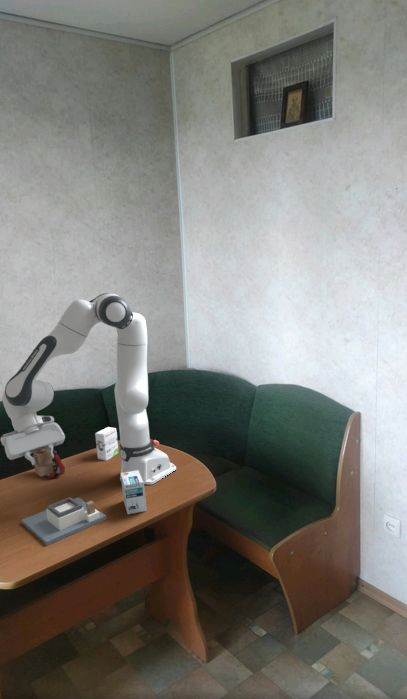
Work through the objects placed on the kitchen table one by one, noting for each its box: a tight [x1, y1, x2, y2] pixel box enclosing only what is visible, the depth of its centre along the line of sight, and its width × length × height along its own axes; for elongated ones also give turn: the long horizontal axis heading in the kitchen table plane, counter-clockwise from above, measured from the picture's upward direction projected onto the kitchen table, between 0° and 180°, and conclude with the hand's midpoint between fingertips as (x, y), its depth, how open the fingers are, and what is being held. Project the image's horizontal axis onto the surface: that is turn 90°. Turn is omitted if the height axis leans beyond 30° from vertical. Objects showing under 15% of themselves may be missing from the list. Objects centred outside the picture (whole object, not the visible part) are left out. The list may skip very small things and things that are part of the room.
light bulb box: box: [120, 470, 148, 515], centre depth 182 cm, size 11×7×11 cm, turn 17°
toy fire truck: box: [45, 449, 66, 479], centre depth 212 cm, size 7×12×10 cm, turn 54°
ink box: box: [94, 426, 120, 461], centre depth 226 cm, size 9×5×12 cm, turn 150°
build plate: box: [20, 496, 107, 546], centre depth 175 cm, size 21×19×7 cm
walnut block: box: [32, 449, 53, 477], centre depth 181 cm, size 4×4×8 cm
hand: (43, 461), depth 180 cm, fingers closed on walnut block, 4 cm apart
